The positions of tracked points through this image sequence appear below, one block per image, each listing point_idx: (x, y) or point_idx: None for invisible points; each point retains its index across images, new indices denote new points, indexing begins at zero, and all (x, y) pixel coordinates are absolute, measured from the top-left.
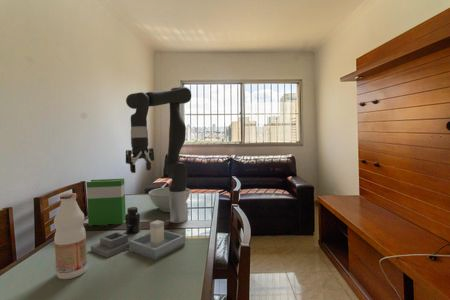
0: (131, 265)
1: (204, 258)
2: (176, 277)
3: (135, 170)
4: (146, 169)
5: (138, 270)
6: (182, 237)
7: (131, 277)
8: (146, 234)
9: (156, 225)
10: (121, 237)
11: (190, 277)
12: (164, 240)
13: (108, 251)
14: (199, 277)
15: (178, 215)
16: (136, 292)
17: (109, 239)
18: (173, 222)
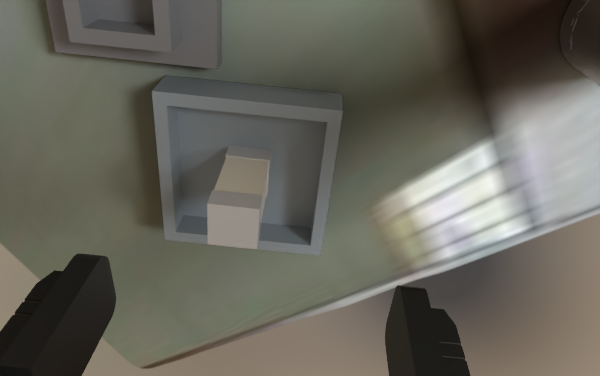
0: (103, 175)
1: (267, 318)
2: (149, 308)
3: (101, 334)
4: (400, 288)
5: (102, 213)
6: (307, 252)
7: (68, 222)
8: (251, 108)
9: (209, 241)
10: (133, 48)
11: (170, 330)
12: (266, 195)
13: (65, 47)
14: (183, 344)
15: (587, 72)
16: (45, 273)
17: (76, 11)
18: (562, 24)
